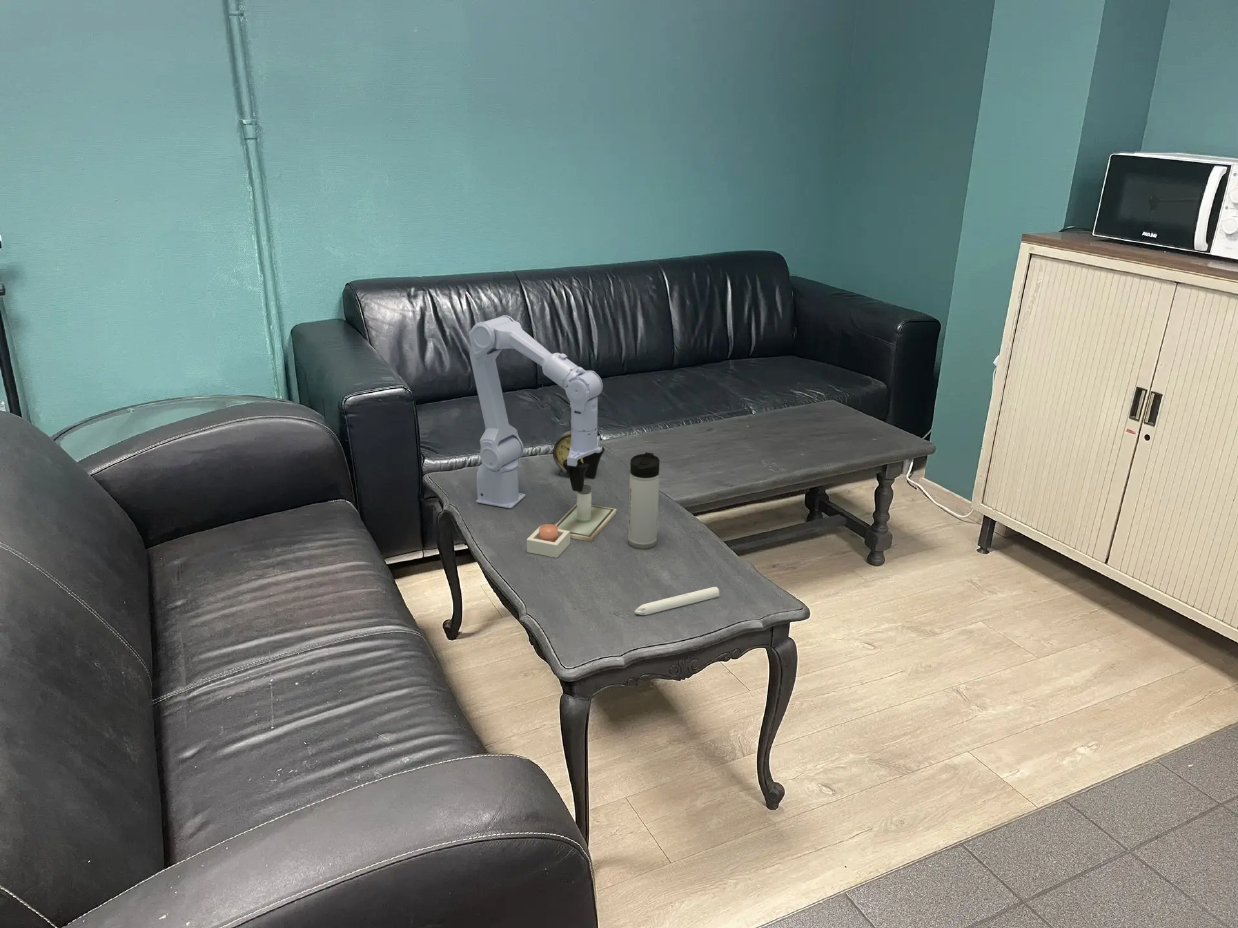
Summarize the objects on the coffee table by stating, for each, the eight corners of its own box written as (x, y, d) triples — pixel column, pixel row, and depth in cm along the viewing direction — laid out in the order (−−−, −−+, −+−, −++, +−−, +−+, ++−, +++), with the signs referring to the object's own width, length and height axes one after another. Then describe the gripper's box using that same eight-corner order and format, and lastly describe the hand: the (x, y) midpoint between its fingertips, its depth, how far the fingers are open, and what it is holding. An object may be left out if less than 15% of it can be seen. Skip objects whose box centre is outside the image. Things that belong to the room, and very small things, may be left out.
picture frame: (549, 533, 190) (549, 530, 190) (577, 505, 204) (577, 501, 204) (591, 541, 187) (591, 538, 187) (616, 512, 201) (616, 508, 201)
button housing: (526, 551, 182) (526, 539, 181) (540, 537, 188) (540, 525, 187) (557, 557, 180) (556, 545, 179) (570, 543, 186) (569, 531, 185)
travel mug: (660, 538, 189) (664, 454, 182) (651, 551, 184) (655, 465, 176) (633, 533, 191) (636, 450, 184) (624, 546, 185) (626, 461, 178)
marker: (636, 619, 159) (637, 608, 159) (631, 614, 161) (632, 603, 160) (719, 598, 167) (719, 588, 166) (713, 593, 168) (714, 583, 168)
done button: (536, 543, 182) (535, 530, 181) (544, 535, 186) (543, 522, 185) (553, 546, 181) (553, 533, 180) (560, 538, 185) (560, 525, 184)
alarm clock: (552, 477, 220) (551, 417, 213) (557, 469, 225) (556, 410, 218) (594, 480, 218) (594, 420, 212) (598, 472, 223) (599, 413, 217)
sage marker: (574, 521, 194) (574, 489, 191) (580, 515, 197) (580, 483, 194) (588, 523, 193) (588, 491, 190) (593, 517, 196) (593, 485, 193)
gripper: (588, 441, 179) (588, 499, 184) (612, 419, 192) (611, 475, 197) (558, 436, 181) (558, 494, 187) (583, 415, 194) (583, 470, 199)
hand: (583, 484), depth 192 cm, fingers open, 7 cm apart
